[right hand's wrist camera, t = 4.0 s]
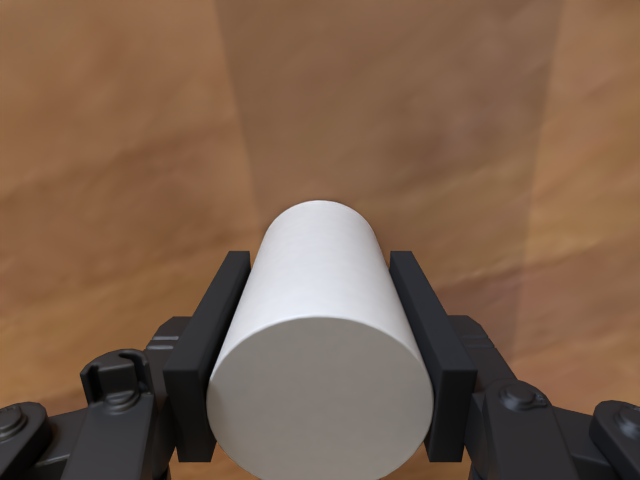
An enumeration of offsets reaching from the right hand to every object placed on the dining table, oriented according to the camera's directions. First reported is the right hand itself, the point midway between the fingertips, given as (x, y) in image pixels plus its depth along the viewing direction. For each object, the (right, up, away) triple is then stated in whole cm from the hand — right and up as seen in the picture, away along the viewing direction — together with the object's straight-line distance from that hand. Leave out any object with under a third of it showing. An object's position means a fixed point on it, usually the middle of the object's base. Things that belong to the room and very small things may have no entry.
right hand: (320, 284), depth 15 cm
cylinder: (0, +1, +2) cm, 3 cm away
